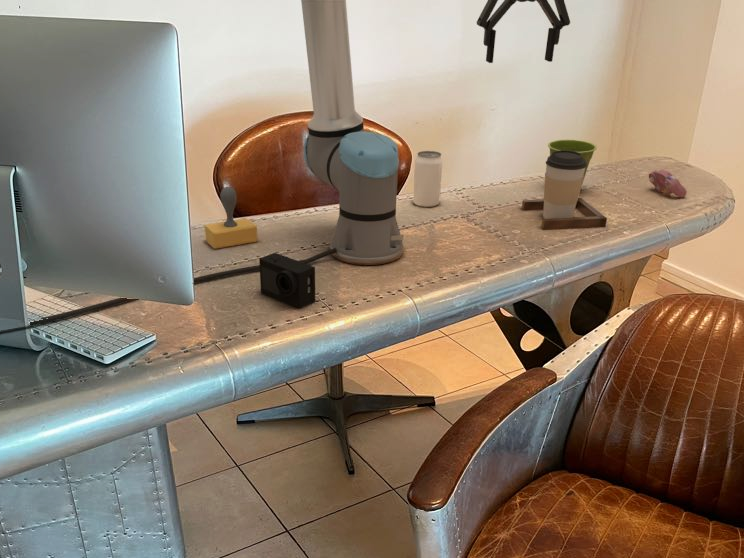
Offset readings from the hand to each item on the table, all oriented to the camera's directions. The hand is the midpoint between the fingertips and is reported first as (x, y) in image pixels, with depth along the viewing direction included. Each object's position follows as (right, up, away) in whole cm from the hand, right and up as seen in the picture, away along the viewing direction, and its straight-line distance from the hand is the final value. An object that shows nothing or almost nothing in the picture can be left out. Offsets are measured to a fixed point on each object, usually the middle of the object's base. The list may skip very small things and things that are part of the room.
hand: (518, 61), depth 179 cm
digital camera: (-50, -57, -29) cm, 81 cm away
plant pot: (+18, -21, +28) cm, 40 cm away
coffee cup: (+11, -32, +10) cm, 36 cm away
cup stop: (+12, -32, +10) cm, 36 cm away
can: (-18, -27, +19) cm, 38 cm away
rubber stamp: (-63, -41, -4) cm, 75 cm away
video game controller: (+43, -23, +26) cm, 55 cm away
